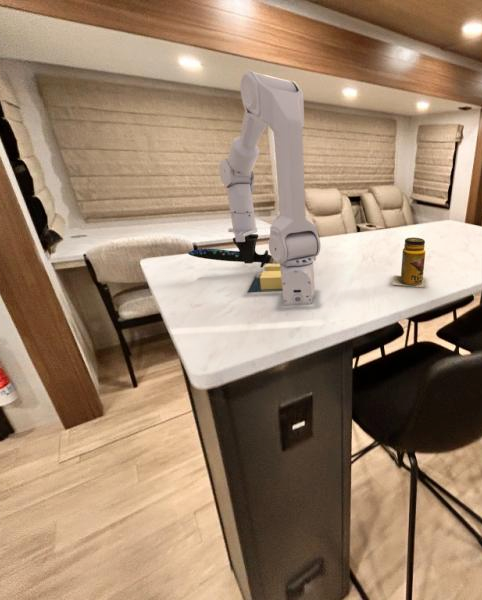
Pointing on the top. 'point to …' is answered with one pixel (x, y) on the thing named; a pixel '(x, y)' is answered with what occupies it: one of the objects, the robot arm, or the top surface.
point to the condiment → (412, 264)
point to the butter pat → (272, 267)
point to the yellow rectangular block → (271, 280)
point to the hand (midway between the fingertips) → (249, 262)
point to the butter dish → (259, 286)
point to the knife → (231, 256)
